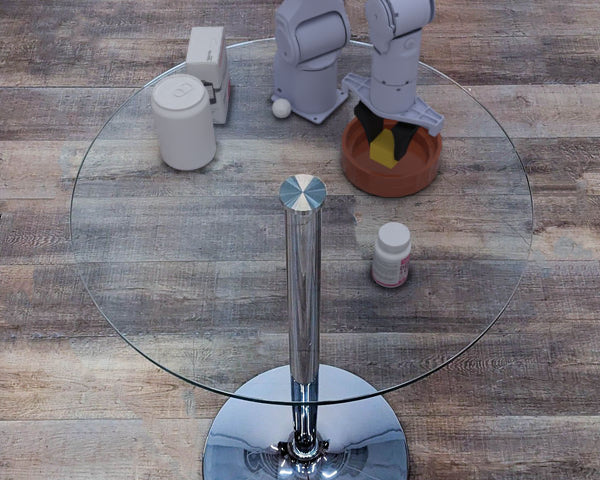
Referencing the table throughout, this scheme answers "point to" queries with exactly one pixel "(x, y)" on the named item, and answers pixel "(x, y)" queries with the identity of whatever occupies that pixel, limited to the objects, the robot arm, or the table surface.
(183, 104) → the beverage can
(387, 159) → the cube
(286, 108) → the white ball
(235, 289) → the table surface
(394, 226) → the pill bottle
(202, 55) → the ink box
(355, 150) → the bowl
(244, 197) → the table surface
